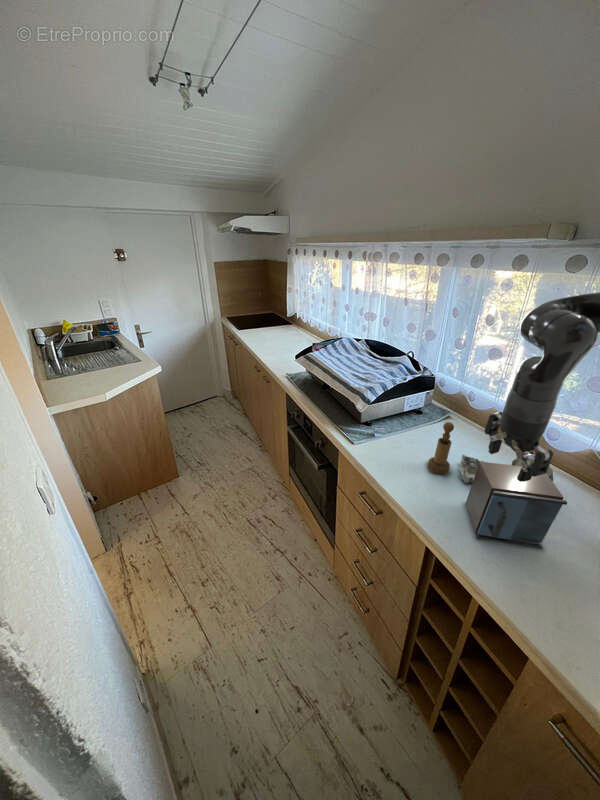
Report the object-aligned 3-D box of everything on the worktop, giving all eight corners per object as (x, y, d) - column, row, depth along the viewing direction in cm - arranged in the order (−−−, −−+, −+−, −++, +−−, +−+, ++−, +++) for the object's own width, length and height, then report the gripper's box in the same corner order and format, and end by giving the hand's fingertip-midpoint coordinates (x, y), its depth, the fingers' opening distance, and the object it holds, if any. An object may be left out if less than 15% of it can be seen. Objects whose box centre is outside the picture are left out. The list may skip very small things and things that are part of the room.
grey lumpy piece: (484, 488, 94) (488, 479, 92) (457, 481, 97) (460, 471, 95) (484, 468, 102) (487, 458, 101) (459, 461, 106) (462, 452, 104)
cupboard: (522, 512, 86) (543, 468, 78) (541, 548, 76) (567, 502, 68) (465, 504, 89) (479, 461, 81) (476, 538, 79) (494, 492, 71)
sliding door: (509, 537, 77) (526, 499, 71) (515, 553, 74) (535, 514, 67) (477, 532, 79) (491, 495, 73) (482, 547, 75) (498, 509, 69)
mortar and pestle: (446, 463, 105) (458, 418, 96) (450, 476, 99) (463, 430, 91) (426, 460, 106) (436, 416, 98) (428, 473, 101) (439, 427, 92)
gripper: (579, 427, 54) (549, 485, 63) (516, 385, 65) (498, 440, 75) (541, 438, 53) (516, 495, 63) (484, 394, 65) (470, 448, 74)
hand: (507, 465), depth 69 cm, fingers open, 8 cm apart
